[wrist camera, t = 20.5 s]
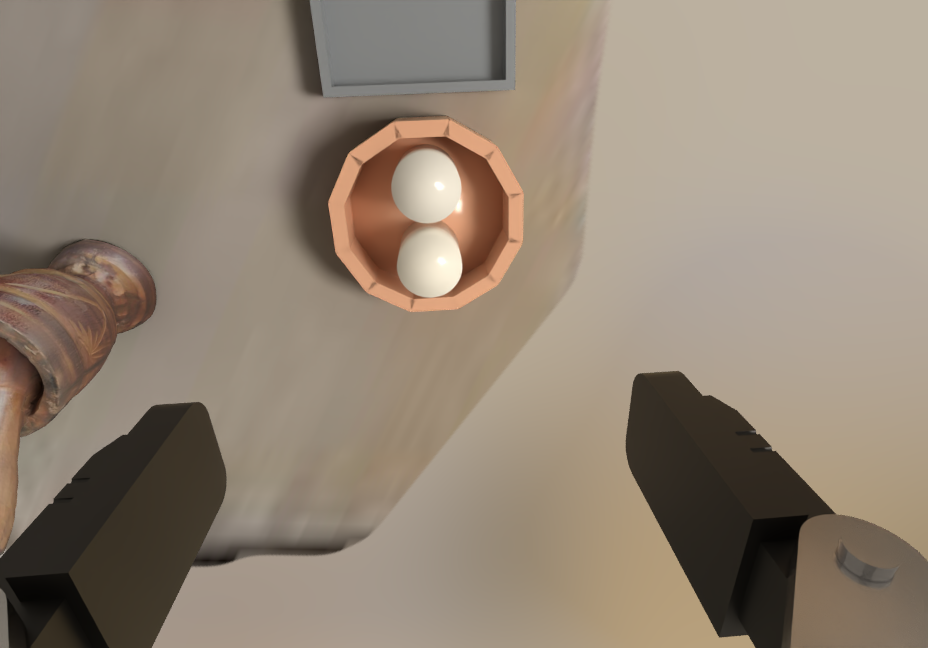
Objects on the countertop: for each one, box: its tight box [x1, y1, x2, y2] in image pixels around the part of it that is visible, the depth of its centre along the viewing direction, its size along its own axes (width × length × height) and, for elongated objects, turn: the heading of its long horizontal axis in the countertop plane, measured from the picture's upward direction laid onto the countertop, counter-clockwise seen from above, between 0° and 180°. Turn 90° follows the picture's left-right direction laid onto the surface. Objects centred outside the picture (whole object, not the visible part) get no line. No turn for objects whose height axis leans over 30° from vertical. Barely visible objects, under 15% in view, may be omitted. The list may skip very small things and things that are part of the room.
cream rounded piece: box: [391, 144, 461, 223], centre depth 34 cm, size 4×4×5 cm
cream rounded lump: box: [397, 221, 462, 298], centre depth 36 cm, size 4×4×5 cm
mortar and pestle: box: [0, 239, 156, 555], centre depth 30 cm, size 12×9×20 cm
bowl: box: [328, 116, 524, 312], centre depth 36 cm, size 13×13×4 cm
